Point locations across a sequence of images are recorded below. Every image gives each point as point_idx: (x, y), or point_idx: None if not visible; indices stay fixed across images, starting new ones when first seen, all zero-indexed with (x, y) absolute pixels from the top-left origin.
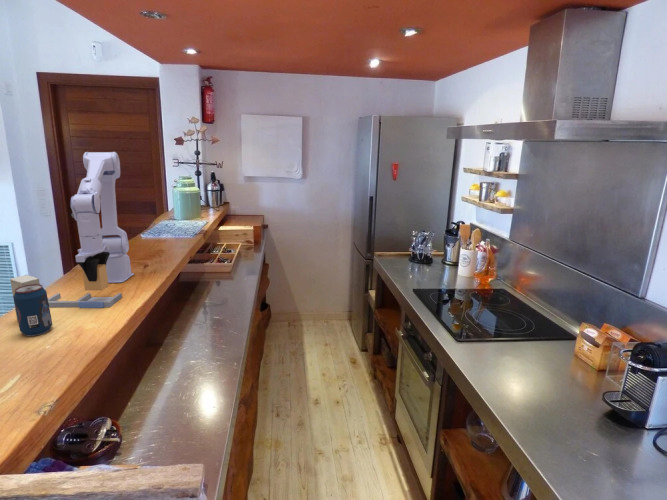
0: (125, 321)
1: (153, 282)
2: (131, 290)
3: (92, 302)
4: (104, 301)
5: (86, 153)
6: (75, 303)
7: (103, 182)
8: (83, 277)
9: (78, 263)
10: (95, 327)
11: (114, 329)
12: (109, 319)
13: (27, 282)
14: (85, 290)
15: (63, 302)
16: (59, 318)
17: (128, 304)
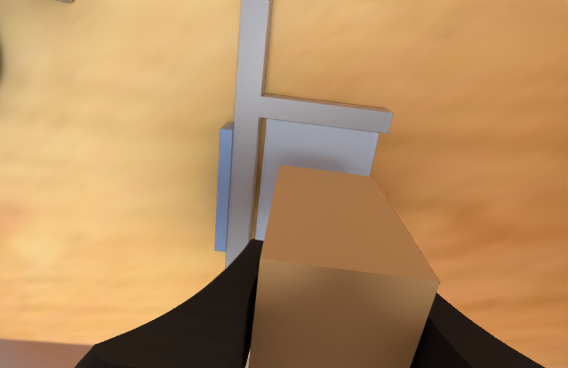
0: (89, 344)
1: (543, 352)
2: (447, 288)
3: (217, 203)
4: (239, 248)
5: None
6: (235, 103)
7: None
8: (271, 208)
9: (104, 351)
10: (25, 268)
11: (21, 328)
12: (101, 292)
13: None
14: (280, 166)
15: (240, 24)
16: (93, 79)
17: None
